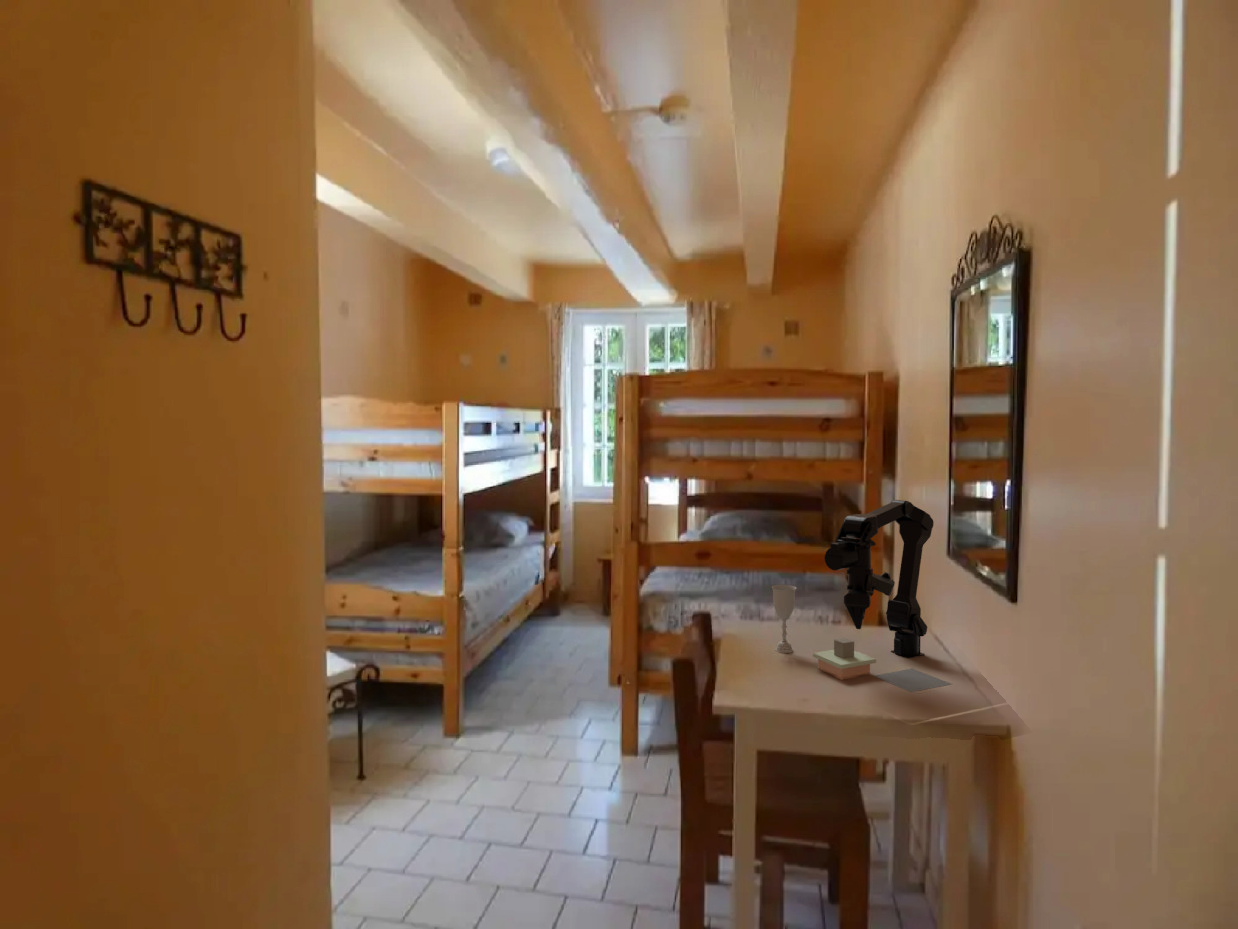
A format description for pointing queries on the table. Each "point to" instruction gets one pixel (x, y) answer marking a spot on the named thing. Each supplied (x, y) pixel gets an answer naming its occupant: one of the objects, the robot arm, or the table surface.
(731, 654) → the table surface
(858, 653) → the lid
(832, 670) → the dish
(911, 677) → the mat
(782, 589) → the chalice
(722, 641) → the table surface
